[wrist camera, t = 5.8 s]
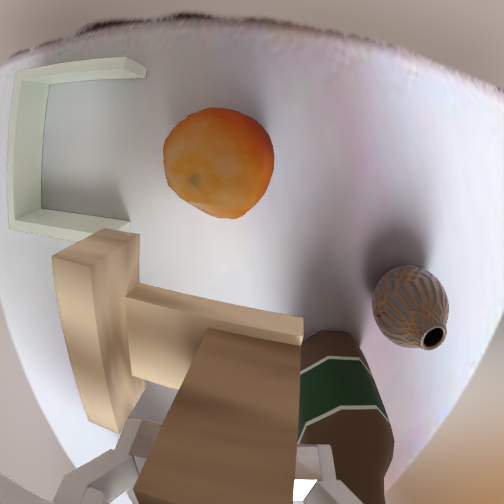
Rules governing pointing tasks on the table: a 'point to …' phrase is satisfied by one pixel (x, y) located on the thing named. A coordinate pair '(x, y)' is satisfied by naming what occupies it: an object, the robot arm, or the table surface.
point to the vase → (411, 307)
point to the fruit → (219, 161)
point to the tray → (31, 143)
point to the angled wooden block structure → (183, 376)
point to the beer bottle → (345, 413)
